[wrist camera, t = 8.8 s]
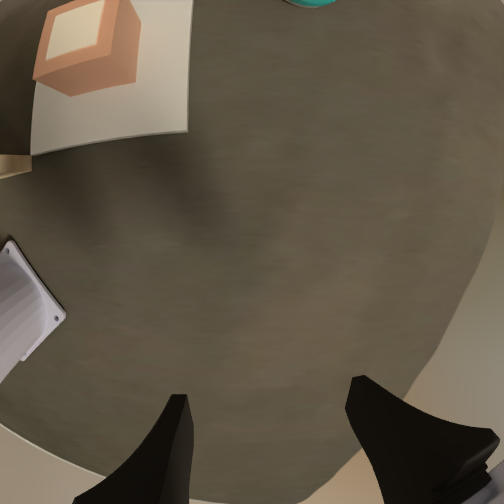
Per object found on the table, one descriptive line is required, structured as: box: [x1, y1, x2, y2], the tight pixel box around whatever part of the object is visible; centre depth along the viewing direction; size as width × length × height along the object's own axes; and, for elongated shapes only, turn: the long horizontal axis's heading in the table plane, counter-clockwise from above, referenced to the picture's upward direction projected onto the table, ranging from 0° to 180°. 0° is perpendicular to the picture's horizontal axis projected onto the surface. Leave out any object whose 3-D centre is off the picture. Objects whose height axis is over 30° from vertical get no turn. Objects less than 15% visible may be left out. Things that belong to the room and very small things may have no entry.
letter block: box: [33, 0, 141, 97], centre depth 11 cm, size 5×5×5 cm
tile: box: [30, 0, 194, 156], centre depth 14 cm, size 12×12×1 cm
